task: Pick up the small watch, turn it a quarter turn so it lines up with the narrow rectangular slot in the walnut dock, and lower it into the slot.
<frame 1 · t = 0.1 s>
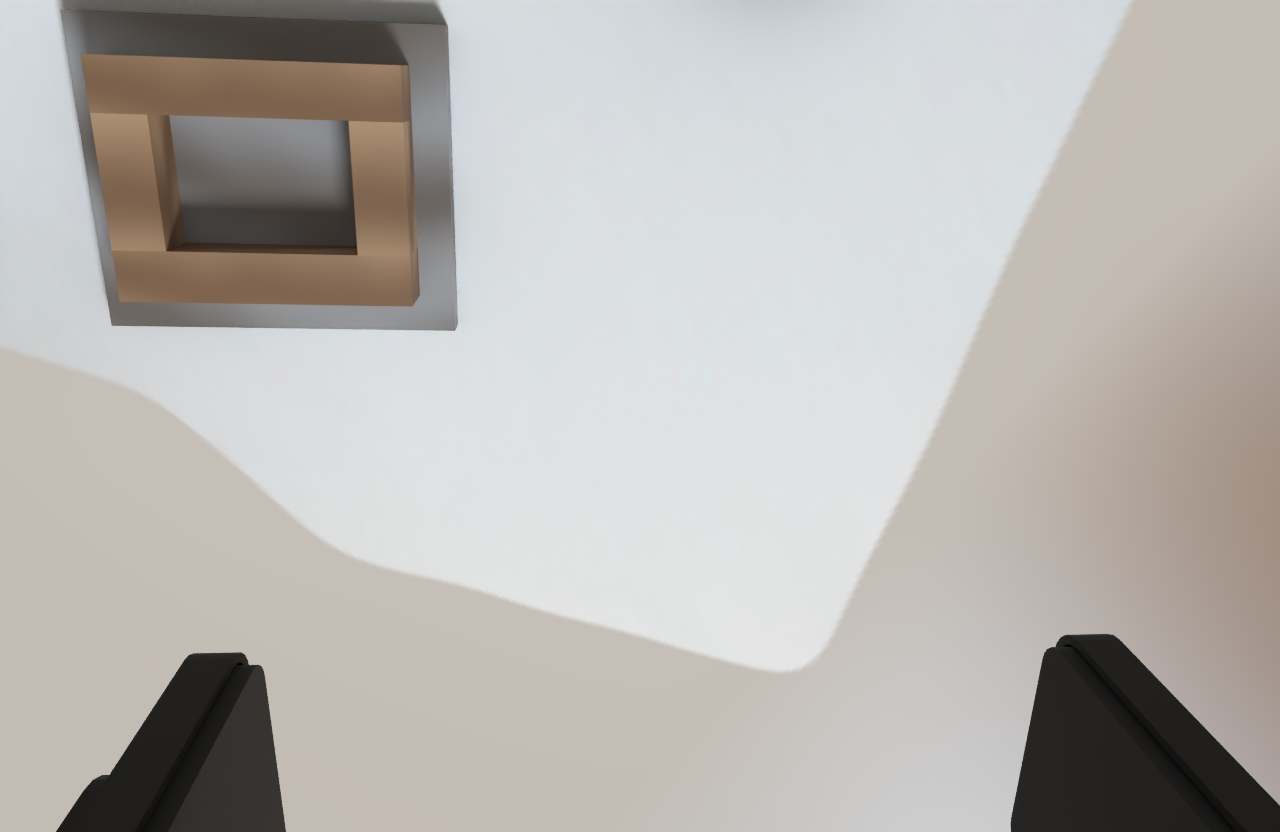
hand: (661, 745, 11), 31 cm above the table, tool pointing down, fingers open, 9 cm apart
dock: (278, 178, 38), on the table
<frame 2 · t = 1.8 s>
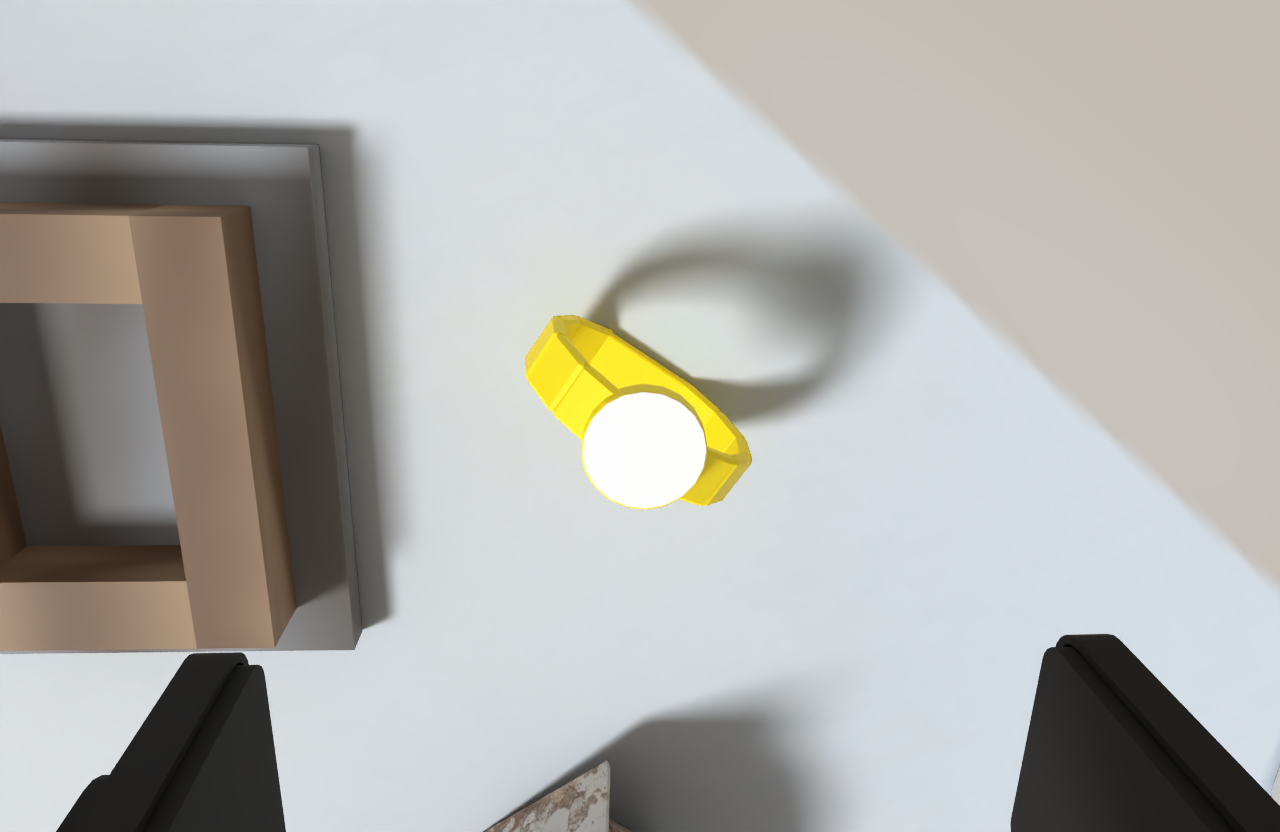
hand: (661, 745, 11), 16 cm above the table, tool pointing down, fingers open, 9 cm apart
dock: (117, 409, 26), on the table
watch: (634, 373, 26), on the table
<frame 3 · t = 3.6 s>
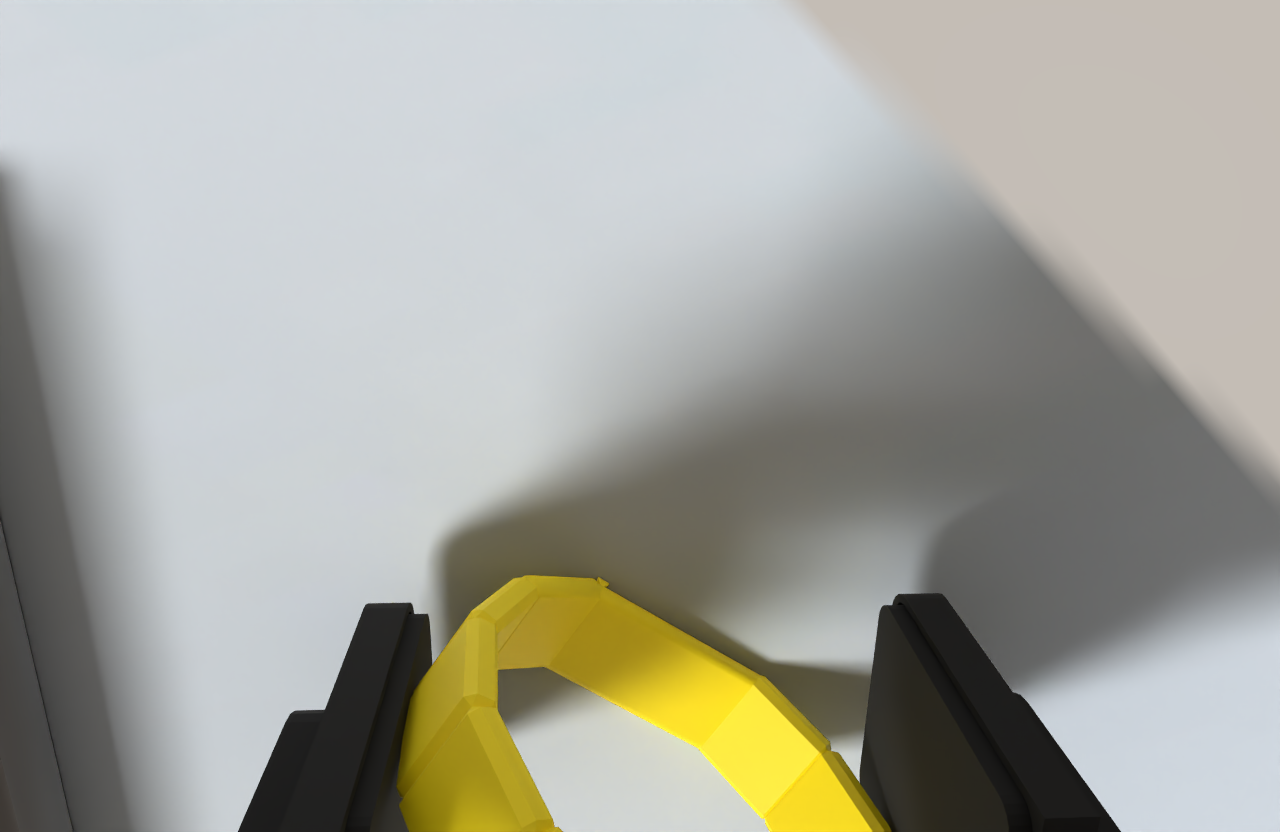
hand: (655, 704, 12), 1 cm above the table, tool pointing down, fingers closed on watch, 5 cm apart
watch: (650, 654, 13), on the table, touching gripper
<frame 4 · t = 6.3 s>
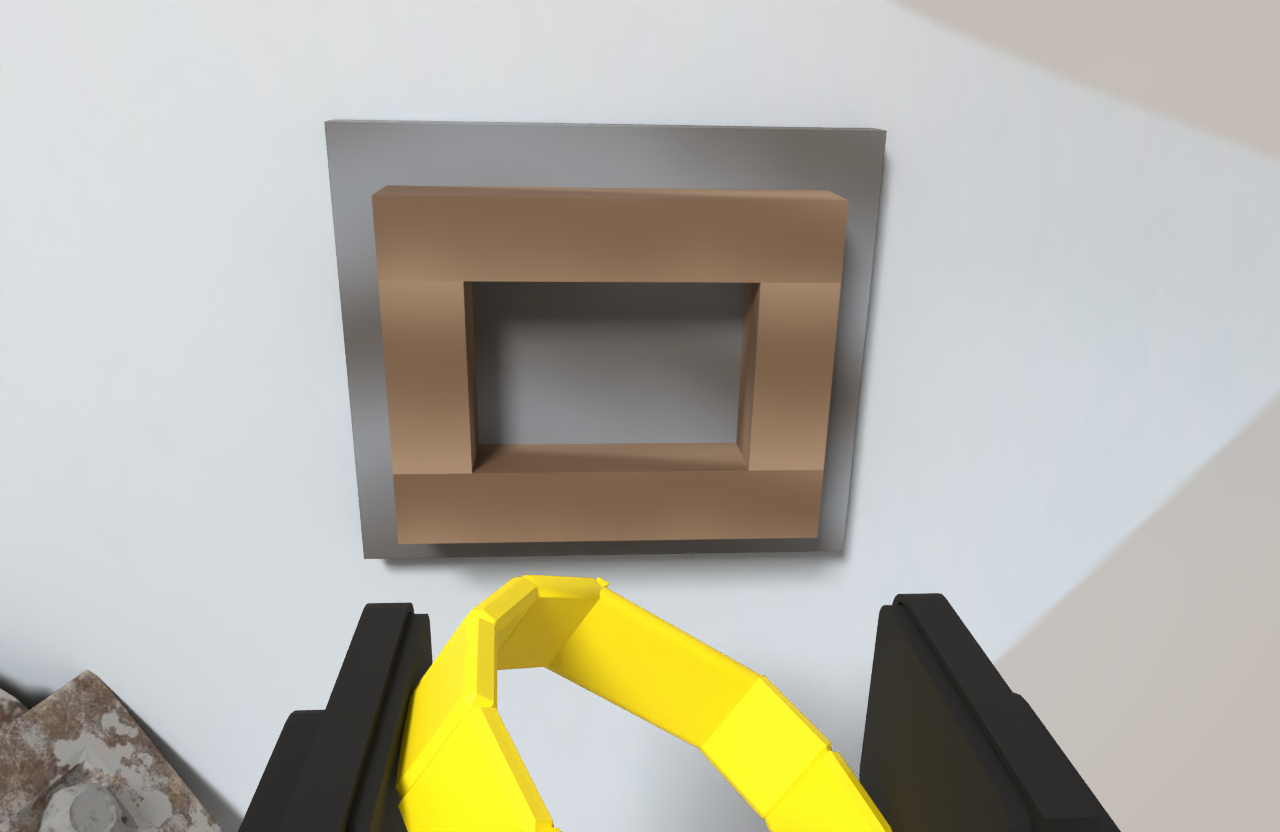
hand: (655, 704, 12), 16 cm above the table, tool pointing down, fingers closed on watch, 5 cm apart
dock: (608, 347, 27), on the table
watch: (650, 654, 13), point 15 cm above the table, touching gripper
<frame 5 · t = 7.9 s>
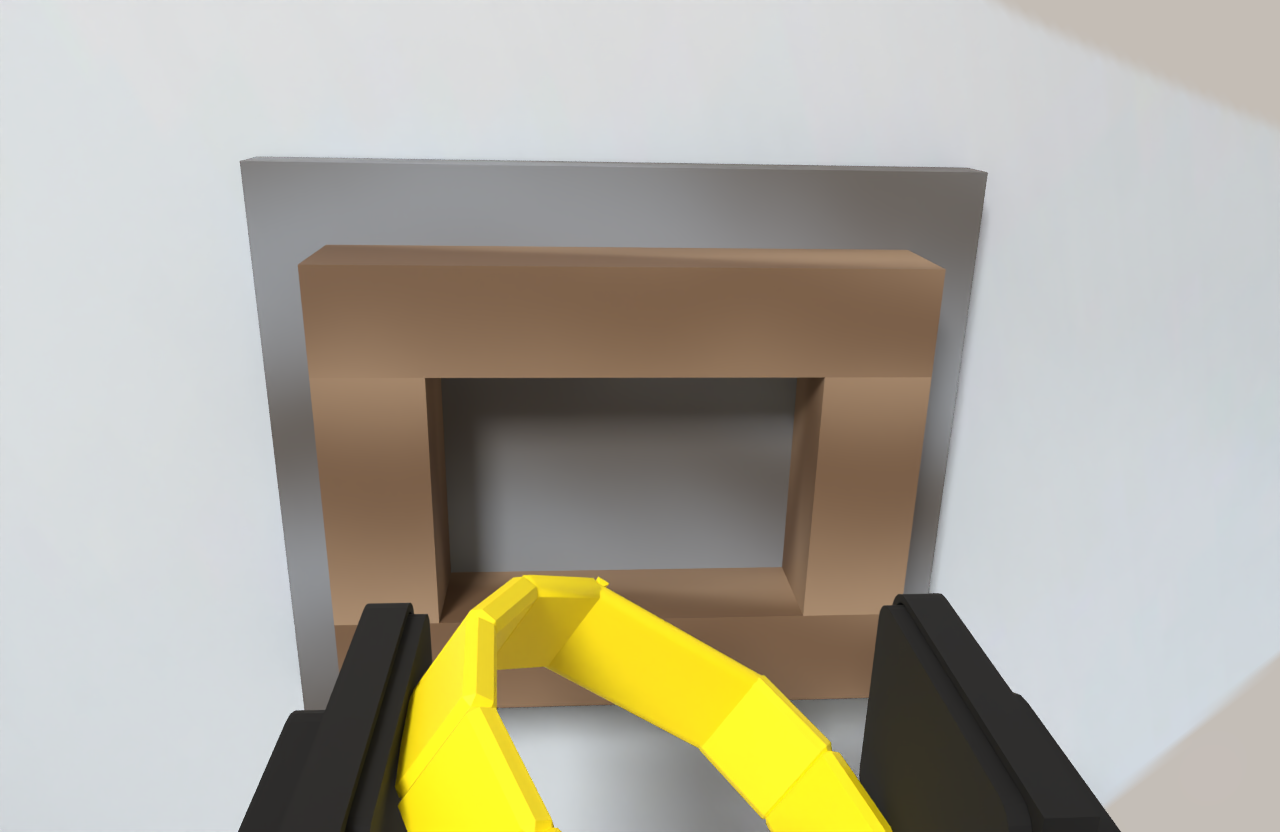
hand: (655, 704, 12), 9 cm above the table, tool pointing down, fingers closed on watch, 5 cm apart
dock: (617, 445, 21), on the table
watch: (650, 654, 13), point 8 cm above the table, touching gripper
when the fingers open (5 cm above the table, at t = 9.1 s): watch drops 3 cm, resting on dock.
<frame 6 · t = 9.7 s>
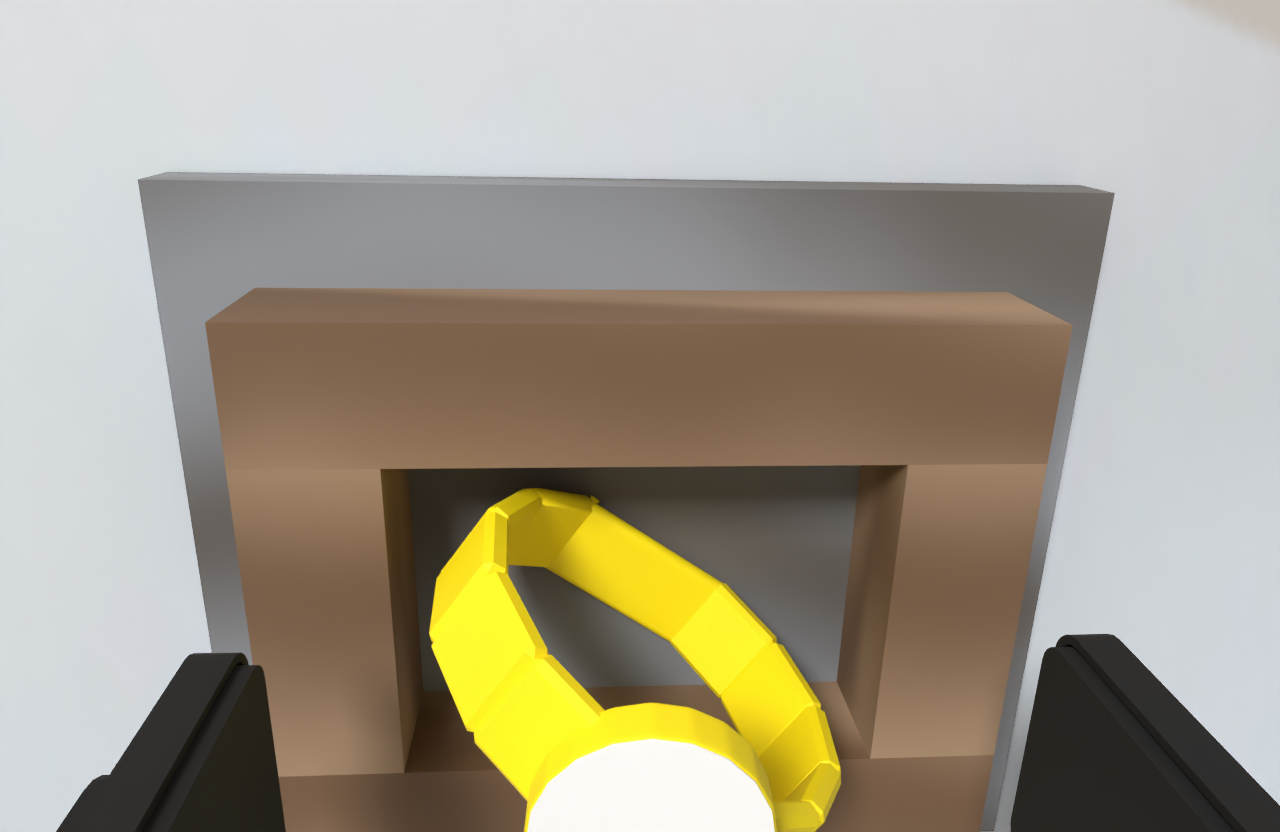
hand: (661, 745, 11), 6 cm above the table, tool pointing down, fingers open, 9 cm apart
dock: (632, 531, 17), on the table
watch: (632, 562, 16), point 1 cm above the table, touching dock
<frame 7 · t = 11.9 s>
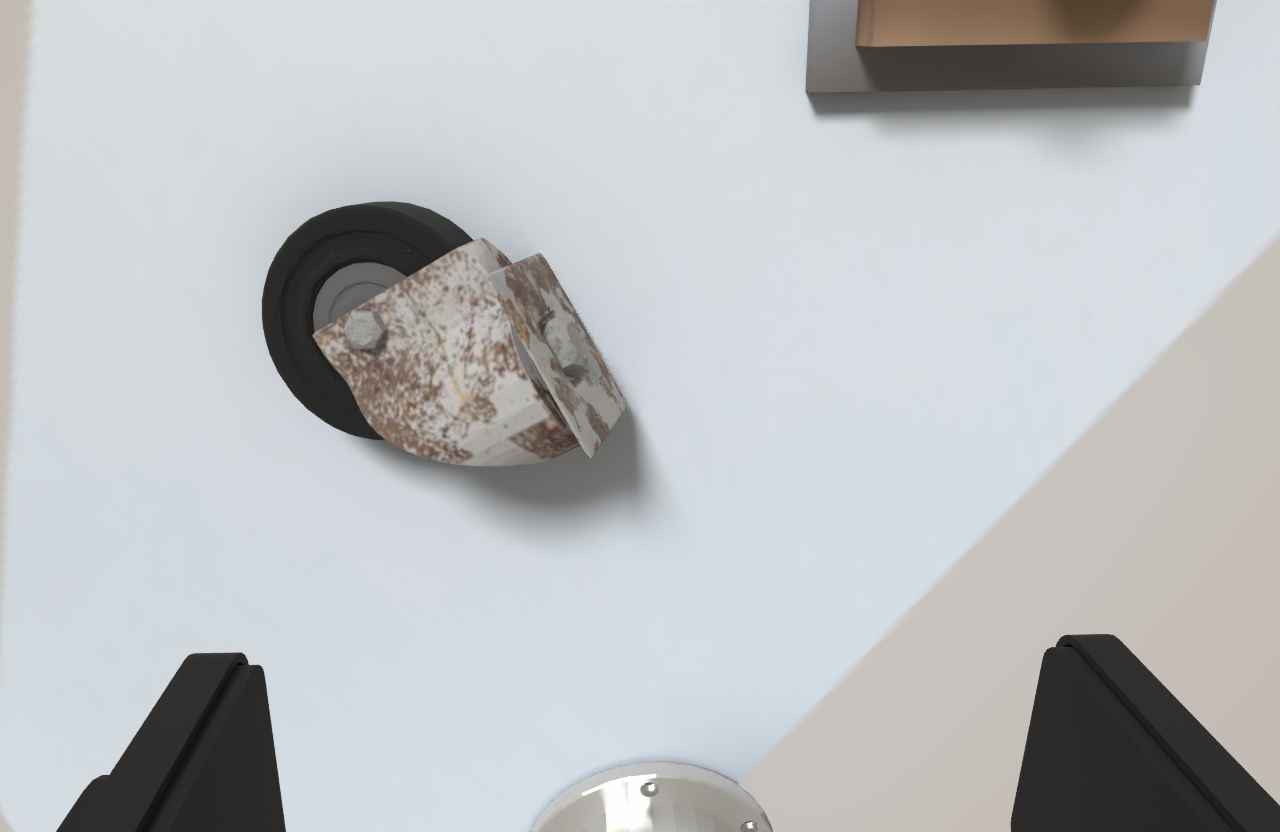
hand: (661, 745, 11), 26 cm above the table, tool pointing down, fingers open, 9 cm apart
caster wheel: (439, 327, 36), on the table
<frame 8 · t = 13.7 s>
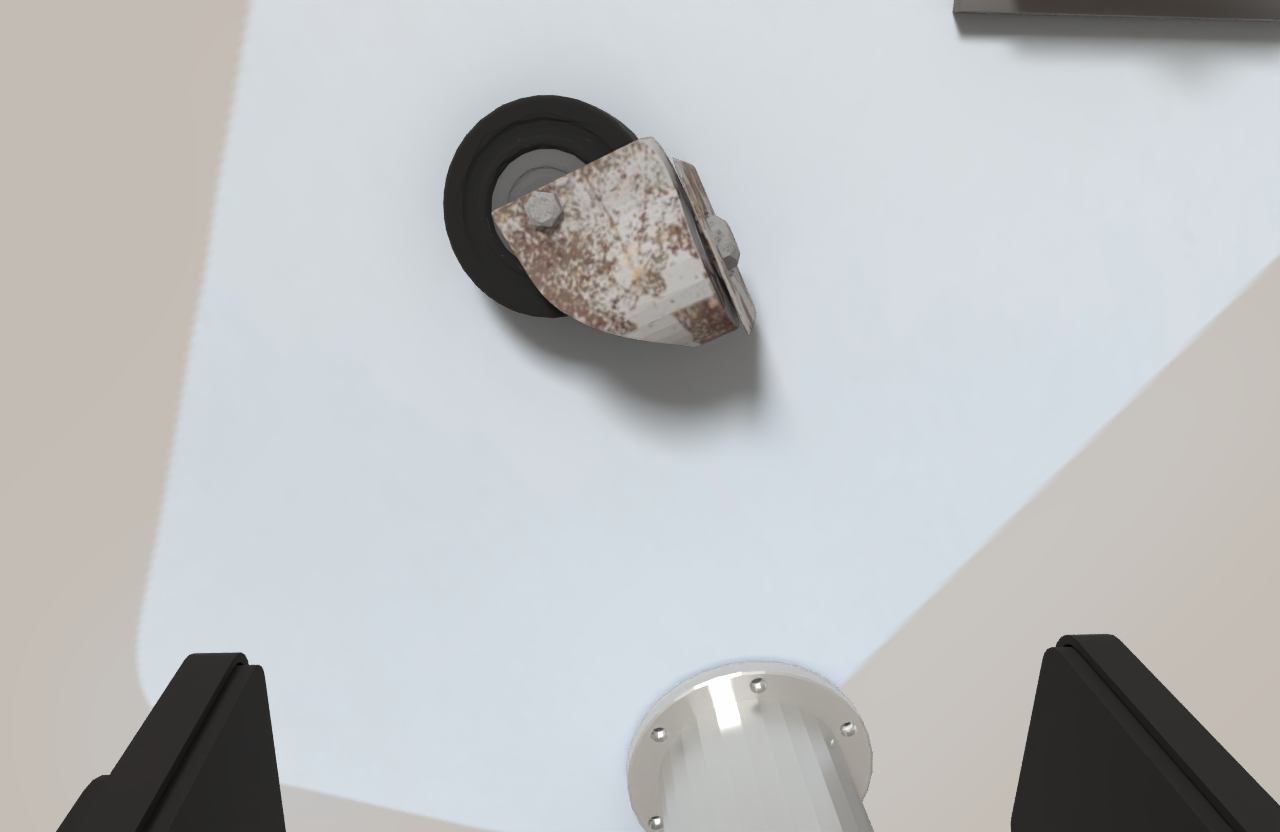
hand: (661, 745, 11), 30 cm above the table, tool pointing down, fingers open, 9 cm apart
caster wheel: (590, 227, 40), on the table
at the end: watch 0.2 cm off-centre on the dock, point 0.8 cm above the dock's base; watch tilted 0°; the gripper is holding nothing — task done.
